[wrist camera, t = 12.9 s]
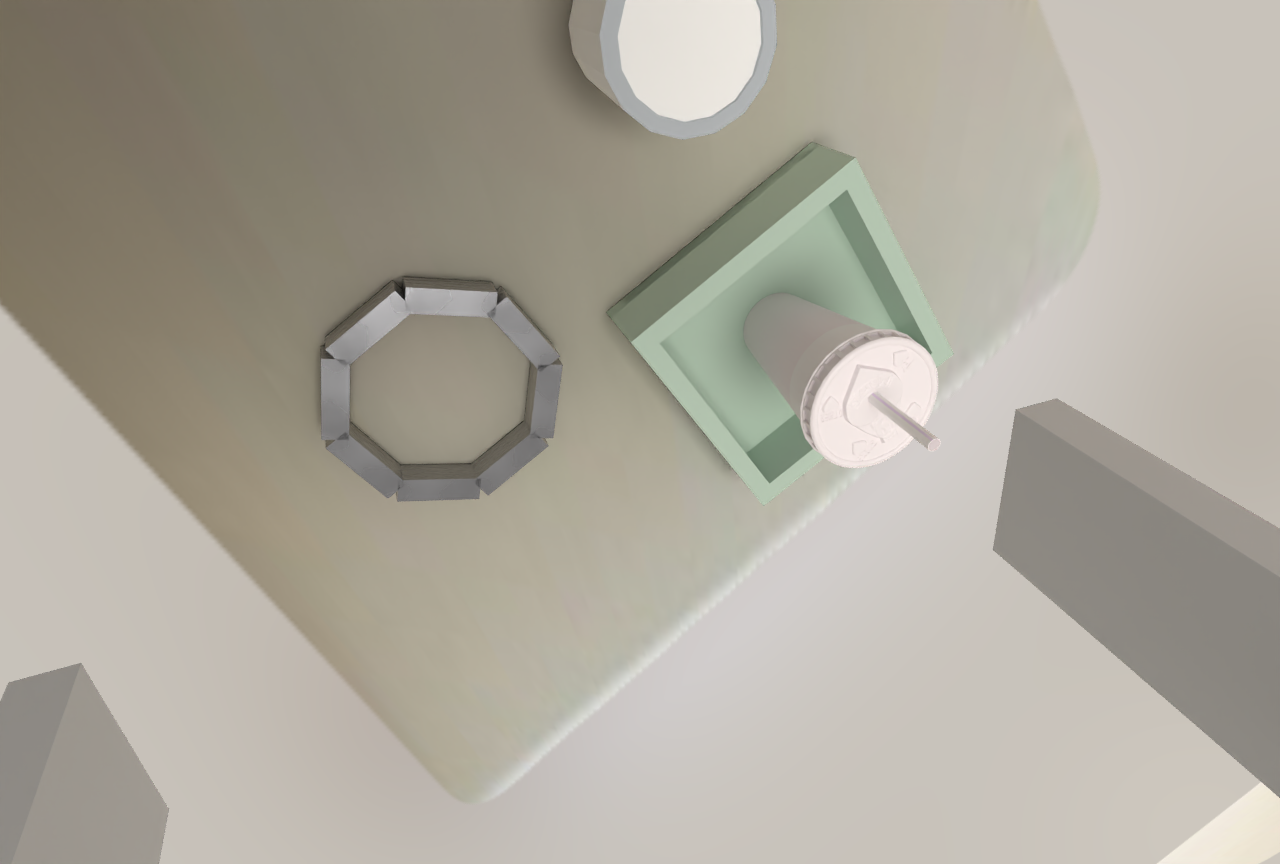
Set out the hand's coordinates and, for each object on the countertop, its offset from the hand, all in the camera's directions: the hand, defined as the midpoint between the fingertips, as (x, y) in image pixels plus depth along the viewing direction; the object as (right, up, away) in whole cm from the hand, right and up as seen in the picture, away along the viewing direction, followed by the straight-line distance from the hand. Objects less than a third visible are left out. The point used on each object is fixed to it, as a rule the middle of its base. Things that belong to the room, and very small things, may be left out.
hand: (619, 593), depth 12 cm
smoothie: (+7, +8, +32) cm, 34 cm away
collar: (-9, +4, +29) cm, 30 cm away
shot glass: (0, +20, +24) cm, 31 cm away
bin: (+7, +8, +33) cm, 35 cm away
